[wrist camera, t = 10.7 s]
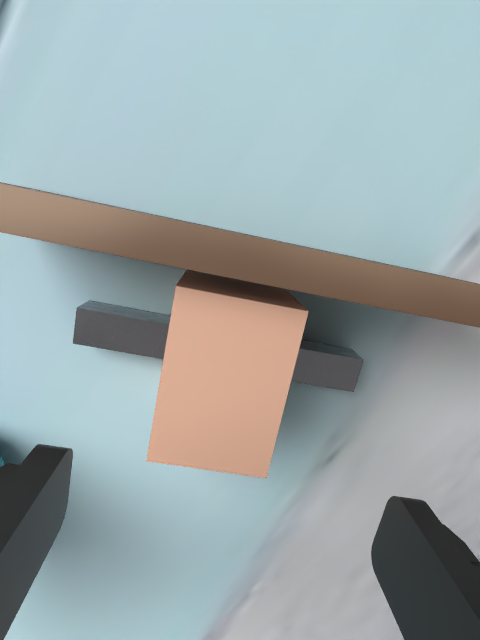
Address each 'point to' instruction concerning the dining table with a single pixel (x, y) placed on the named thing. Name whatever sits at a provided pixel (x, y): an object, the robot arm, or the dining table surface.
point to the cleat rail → (151, 335)
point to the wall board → (234, 255)
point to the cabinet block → (225, 374)
